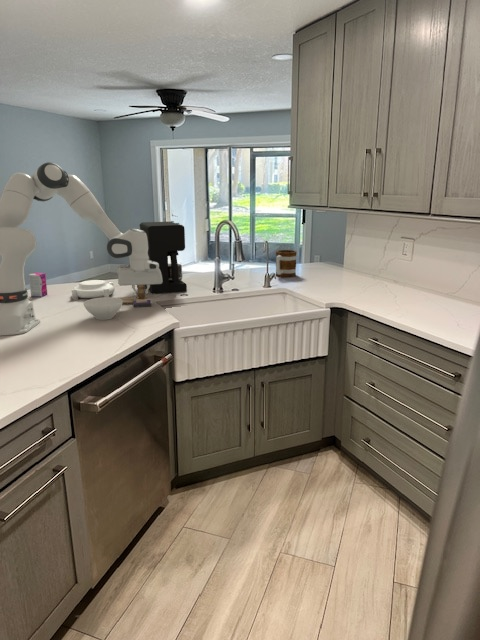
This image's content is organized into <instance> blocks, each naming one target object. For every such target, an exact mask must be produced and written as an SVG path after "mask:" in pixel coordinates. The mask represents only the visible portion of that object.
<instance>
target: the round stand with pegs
mask: <svg viewBox="0 0 480 640" xmlns="http://www.w3.org/2000/svg"><path fill="white" fill-rule="evenodd" d="M114 292H115V286H114V282H113V281H110V282H109V281H108V283H107V282H106V280H102V279H101V280H100V279H90V280H84V281H83V280H82V282H79V283H78V285H76V286H74V287H73V288H72V290H71V294H72V300H73V301H77V300H79V298H80V299H94V298H101V297H110V296H111V295H112V294H114Z"/></svg>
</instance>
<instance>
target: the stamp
mask: <svg viewBox="0 0 480 640" xmlns="http://www.w3.org/2000/svg"><path fill="white" fill-rule="evenodd" d="M136 288H137V290H138V294H137V296H135V297H136V303H147V300H148V296H146V294H145V290H146V289H145V288H146V287H145V285H136Z"/></svg>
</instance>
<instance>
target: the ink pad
mask: <svg viewBox="0 0 480 640" xmlns="http://www.w3.org/2000/svg"><path fill="white" fill-rule="evenodd" d="M132 305H133V308H146V307H148V308H149V307H152V303H151V299H147V303H136V300H135V301H133V304H132Z"/></svg>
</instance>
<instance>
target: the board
mask: <svg viewBox="0 0 480 640" xmlns="http://www.w3.org/2000/svg"><path fill="white" fill-rule="evenodd" d="M136 297H137V296H122V297H121V296H120V297H119V296H118V297H117V296H116V298H120V299H122V300H123V302H122V306H126V305H127V306H129V305H133V301H135V300H136Z"/></svg>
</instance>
